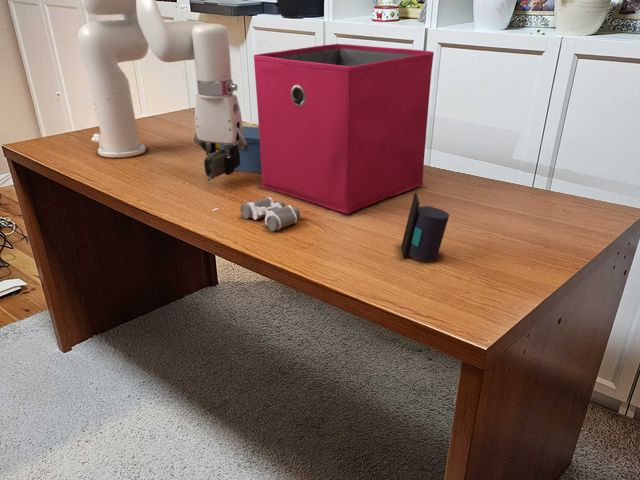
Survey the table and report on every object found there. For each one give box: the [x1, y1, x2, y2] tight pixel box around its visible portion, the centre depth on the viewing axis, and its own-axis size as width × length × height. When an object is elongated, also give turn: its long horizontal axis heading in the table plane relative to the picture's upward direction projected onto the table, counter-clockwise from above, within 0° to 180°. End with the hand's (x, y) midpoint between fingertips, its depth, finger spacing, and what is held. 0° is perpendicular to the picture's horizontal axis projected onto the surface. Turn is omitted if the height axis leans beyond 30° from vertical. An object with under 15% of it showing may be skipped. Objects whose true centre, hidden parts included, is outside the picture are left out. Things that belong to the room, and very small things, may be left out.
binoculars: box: [240, 196, 301, 232], centre depth 120 cm, size 12×8×4 cm, turn 41°
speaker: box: [400, 192, 450, 262], centre depth 104 cm, size 8×6×10 cm
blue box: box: [219, 126, 262, 174], centre depth 150 cm, size 13×11×8 cm
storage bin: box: [253, 43, 435, 215], centre depth 131 cm, size 28×29×28 cm
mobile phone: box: [203, 149, 240, 182], centre depth 138 cm, size 5×3×15 cm
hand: (222, 171), depth 139 cm, fingers closed on mobile phone, 3 cm apart
